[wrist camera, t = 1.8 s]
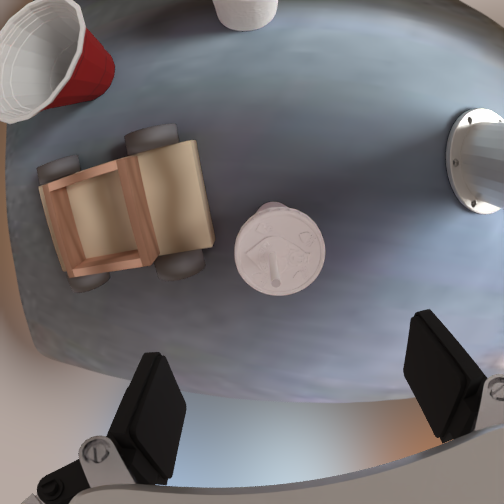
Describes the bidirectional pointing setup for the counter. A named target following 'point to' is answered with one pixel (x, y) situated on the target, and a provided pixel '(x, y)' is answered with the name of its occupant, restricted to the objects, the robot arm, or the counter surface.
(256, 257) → the smoothie
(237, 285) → the counter surface
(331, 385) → the counter surface
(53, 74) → the plastic cup
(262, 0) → the roll
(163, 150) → the chassis
